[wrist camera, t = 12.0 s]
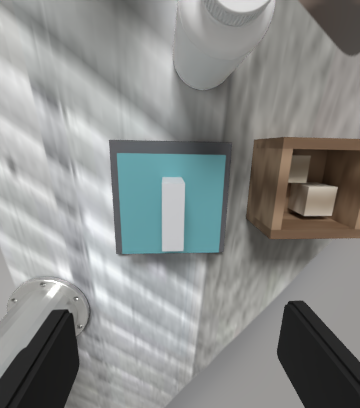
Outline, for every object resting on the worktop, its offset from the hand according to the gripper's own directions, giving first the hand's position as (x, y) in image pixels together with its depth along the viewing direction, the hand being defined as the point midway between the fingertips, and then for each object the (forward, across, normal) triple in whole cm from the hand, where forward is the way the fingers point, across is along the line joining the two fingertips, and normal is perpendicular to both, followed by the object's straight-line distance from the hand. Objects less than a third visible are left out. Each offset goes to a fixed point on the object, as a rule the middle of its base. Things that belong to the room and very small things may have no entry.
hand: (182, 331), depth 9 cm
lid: (+23, 0, 0) cm, 23 cm away
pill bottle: (+24, -4, -19) cm, 31 cm away
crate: (+24, -18, -3) cm, 30 cm away
